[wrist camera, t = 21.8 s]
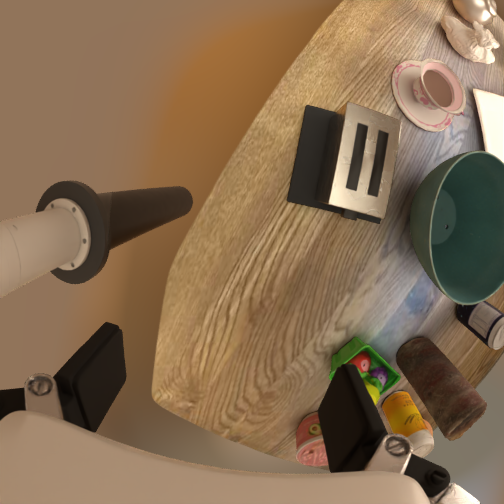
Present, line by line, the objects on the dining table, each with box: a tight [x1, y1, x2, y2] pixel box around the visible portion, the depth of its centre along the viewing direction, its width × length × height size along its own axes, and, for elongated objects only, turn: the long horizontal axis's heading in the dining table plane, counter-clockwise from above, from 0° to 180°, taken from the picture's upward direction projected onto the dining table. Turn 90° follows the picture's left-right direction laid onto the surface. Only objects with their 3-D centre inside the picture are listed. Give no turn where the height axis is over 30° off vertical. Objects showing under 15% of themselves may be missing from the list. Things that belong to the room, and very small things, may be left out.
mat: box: [287, 105, 381, 224], centre depth 33 cm, size 13×13×1 cm
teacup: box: [391, 59, 466, 132], centre depth 27 cm, size 12×12×6 cm
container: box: [296, 411, 329, 466], centre depth 41 cm, size 10×10×8 cm
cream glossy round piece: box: [452, 0, 497, 25], centre depth 18 cm, size 9×10×10 cm
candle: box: [397, 337, 487, 441], centre depth 30 cm, size 8×7×20 cm
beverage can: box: [456, 300, 504, 350], centre depth 32 cm, size 6×6×12 cm
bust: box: [441, 15, 499, 64], centre depth 21 cm, size 12×8×11 cm
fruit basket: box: [329, 337, 401, 405], centre depth 35 cm, size 11×9×11 cm
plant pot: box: [410, 151, 504, 305], centre depth 28 cm, size 18×18×12 cm
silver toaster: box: [314, 102, 402, 220], centre depth 29 cm, size 6×12×8 cm, turn 169°
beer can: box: [382, 391, 434, 458], centre depth 36 cm, size 6×6×15 cm
